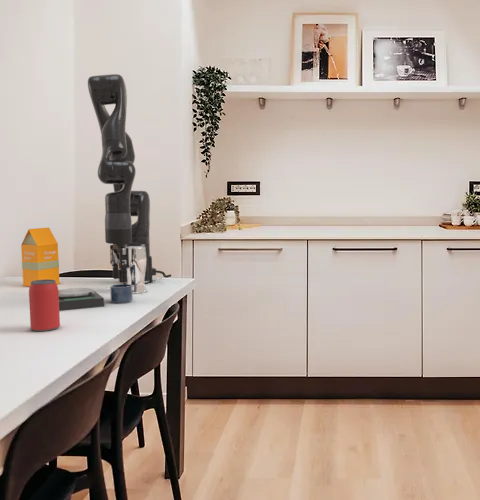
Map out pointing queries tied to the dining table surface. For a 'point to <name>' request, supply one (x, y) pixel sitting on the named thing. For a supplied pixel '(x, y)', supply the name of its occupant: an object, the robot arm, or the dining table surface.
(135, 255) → the beer glass
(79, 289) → the platter
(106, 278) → the dining table surface
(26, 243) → the orange juice
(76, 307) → the scale
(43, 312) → the beer can
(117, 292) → the cup
